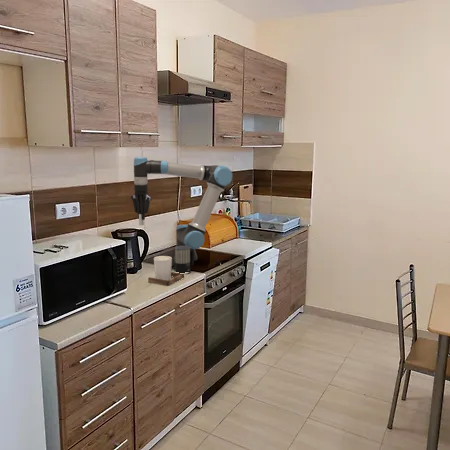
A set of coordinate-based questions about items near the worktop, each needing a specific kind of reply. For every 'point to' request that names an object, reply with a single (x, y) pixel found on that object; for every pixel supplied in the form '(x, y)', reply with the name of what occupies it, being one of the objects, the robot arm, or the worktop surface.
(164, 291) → the worktop surface
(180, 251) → the milk frother
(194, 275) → the worktop surface
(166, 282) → the walnut bay
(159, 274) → the candle holder
